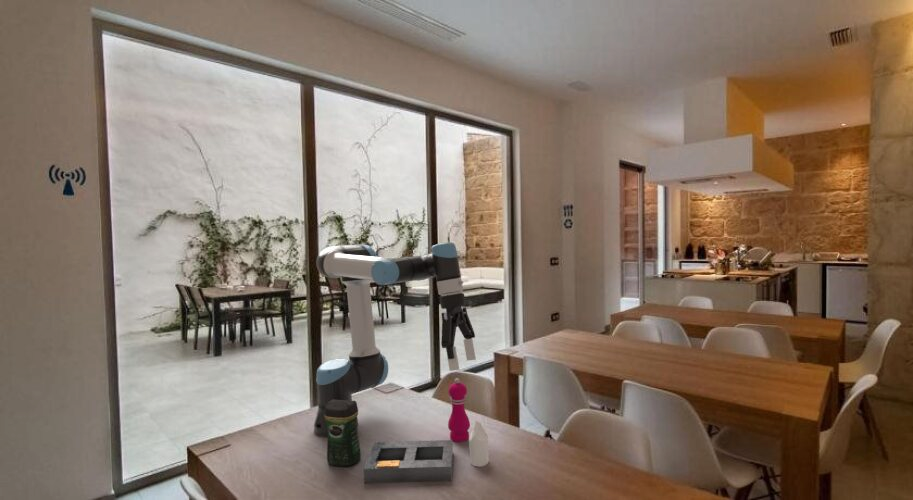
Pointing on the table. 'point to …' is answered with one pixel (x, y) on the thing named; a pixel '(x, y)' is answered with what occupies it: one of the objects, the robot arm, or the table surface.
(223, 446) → the table surface
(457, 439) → the pepper mill
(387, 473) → the hole plate
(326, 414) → the coffee jar
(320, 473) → the table surface
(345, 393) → the robot arm
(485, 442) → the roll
